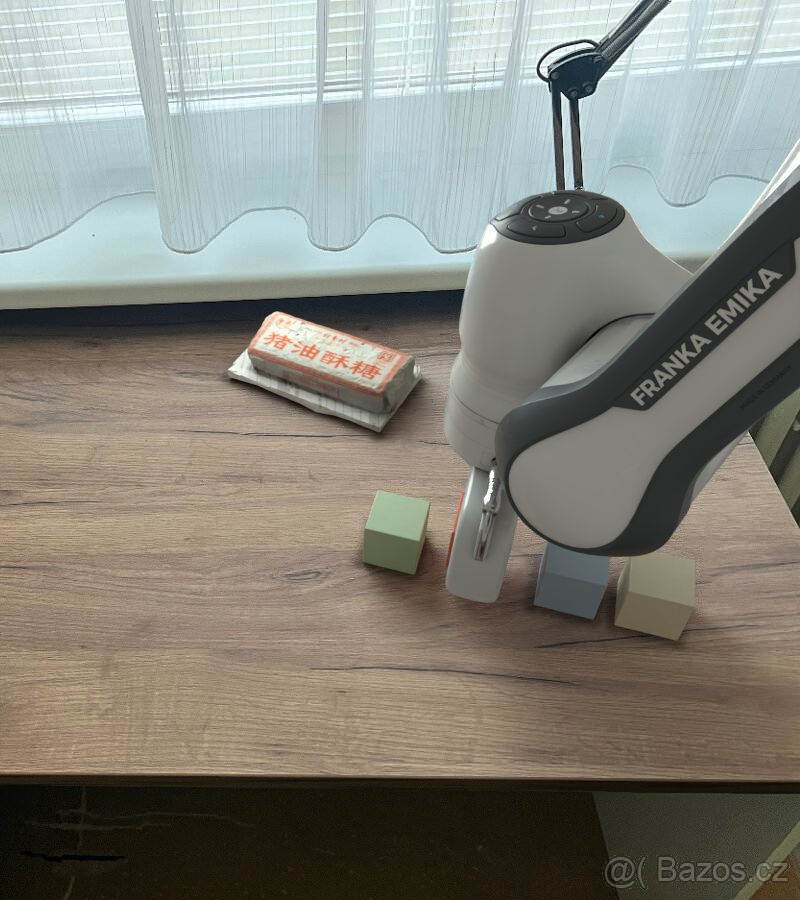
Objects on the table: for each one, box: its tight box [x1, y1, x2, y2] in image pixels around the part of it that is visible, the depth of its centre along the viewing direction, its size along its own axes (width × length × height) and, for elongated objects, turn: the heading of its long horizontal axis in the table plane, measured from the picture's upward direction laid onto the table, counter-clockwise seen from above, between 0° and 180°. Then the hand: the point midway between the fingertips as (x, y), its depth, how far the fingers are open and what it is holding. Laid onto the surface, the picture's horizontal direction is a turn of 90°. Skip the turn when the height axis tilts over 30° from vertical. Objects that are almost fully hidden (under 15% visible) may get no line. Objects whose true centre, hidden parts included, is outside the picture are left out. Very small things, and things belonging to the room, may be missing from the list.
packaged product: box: [226, 311, 423, 433], centre depth 90 cm, size 18×5×10 cm
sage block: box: [361, 489, 432, 576], centre depth 74 cm, size 4×4×4 cm
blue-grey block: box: [533, 541, 611, 620], centre depth 69 cm, size 4×4×4 cm
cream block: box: [613, 551, 697, 641], centre depth 67 cm, size 4×4×4 cm
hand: (481, 540), depth 70 cm, fingers closed on coral block, 4 cm apart
